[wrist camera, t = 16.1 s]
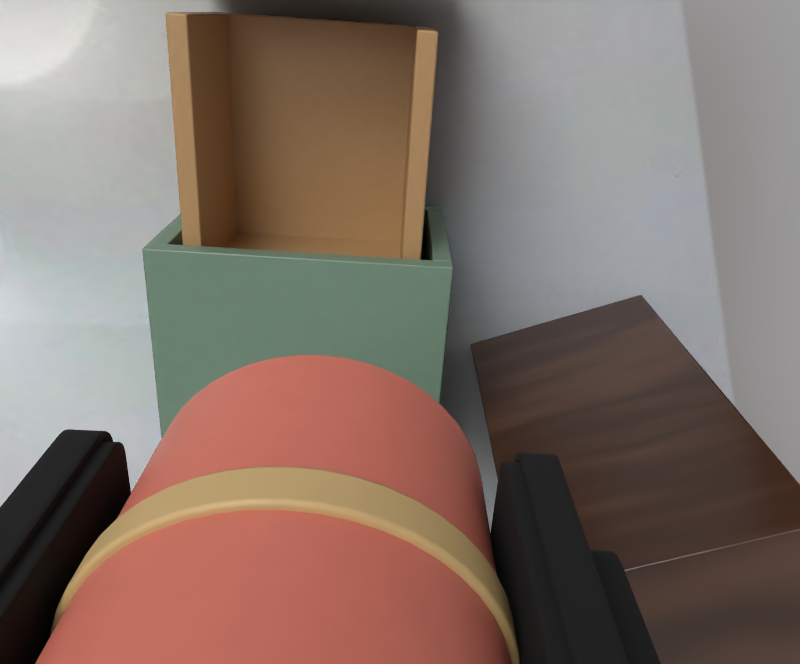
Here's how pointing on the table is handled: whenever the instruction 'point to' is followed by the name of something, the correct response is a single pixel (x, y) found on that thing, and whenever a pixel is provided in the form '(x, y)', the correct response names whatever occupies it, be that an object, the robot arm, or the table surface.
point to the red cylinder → (296, 533)
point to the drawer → (301, 132)
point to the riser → (657, 477)
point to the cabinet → (293, 310)
